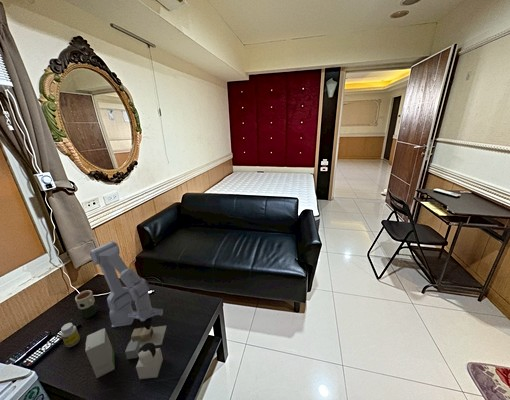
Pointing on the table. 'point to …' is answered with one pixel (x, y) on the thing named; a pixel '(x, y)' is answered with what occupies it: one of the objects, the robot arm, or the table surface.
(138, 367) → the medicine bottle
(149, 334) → the birch block
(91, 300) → the character mug
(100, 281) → the table surface
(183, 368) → the table surface
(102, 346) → the skincare box
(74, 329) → the supplement bottle
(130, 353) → the slate block
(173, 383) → the table surface
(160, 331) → the felt mat
